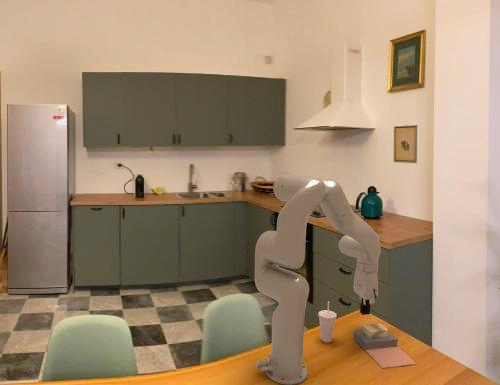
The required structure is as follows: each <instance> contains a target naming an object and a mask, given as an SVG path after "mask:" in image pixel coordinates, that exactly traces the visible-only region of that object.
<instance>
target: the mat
mask: <svg viewBox="0 0 500 385" xmlns="http://www.w3.org/2000/svg"><path fill="white" fill-rule="evenodd" d="M364 351H365V352H366V353H367V354H368V356H369V357H370V358H371V359H372V360H373V361H374V362H375V363H376V364H377V365H378V366H379V367H380V368H381V369H383V370H385V369H386V370H387V369H394V368H399V367H400V368H401V367H409V366H415V365H417V363H416V362H415V360H413V359H412V358H411V357H410V356H409V355H408V354H407V353H405V352H404V351H403V350H402V349H401V348H400V347H399V346H398V345H397V346H395V347H386V348H378V349H369V350H364Z"/></svg>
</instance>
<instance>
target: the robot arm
mask: <svg viewBox="0 0 500 385" xmlns="http://www.w3.org/2000/svg"><path fill="white" fill-rule="evenodd" d="M273 194H274V196H275V198H277V199H278V201H281V202H285V203H286V204H284V206H283V207H282V208H281V210H280V211H279V213H278V216H277V219H276V220H277V222H276V230H266V231H264V232H262V233H261V235H260V236H259V238H258V239H257V241H256V243H255V250H254V284H255V288H256V290H258V292H259V293H261V294H262V295H265V296H266V297H269V298H271V299H273V300H275V301H276V302H277V303H278V304H277V307H276V308H275V309H274V311H273V313H272V319H271V354H269V355H268V358H265V360H256V361H255V368H256V369H260V368H261V372H265V374H266V375H267V377H268V378H269V379H270V380H271V381H273V382H275V383H278V384H281V385H296V384H300V383H302V382H304V381H305V380H306V379H307V377H308V368H307V366H306V365H305V364H304V363H303V360H304V359H303V358H304V339H305V338H304V337H305V336H304V335H305V314H306V306H307V303H308V298H309V295H310V294H309V293H310V285H309V283H308V281H307V279H306V278H305V277H304V276H302V275H301V274H300V273H297V272H294V271H292V270H298V269H299V268H301V267H302V266H303V264H304V262H305V258H306V242H307V241H306V240H307V239H306V238H307V237H306V236H307V224H308V220H309V218H310V216H311V214H312V212H313V211H314V210H315V209H316V208H317V207H318V206H320V209H321V210H322V212H323V213H324V216H325V217H326V219H327V221H328V224H330V226H331V227H332V228H334V229H335V230H337V231H338V232H340V233H342V234H344V235H343V236H342V237H341V238H340V239H339V242H338V249H339V251H340V252H341V254H343V255H346V256H349V257H352V258H356V268H355V271H354V277H353V278H354V279H353V292H354V293H356V294H357V295H358V297H359V302H360V304H359V313H360V314H361V315H362V316H364V315H366V316H367V315H370V314H371V305H373V304H374V305H375V304H376V300H377V299H378V296H379V276H378V272H379V260H380V259H379V258H380V256H381V253H382V248H381V247H382V246H381V243H380V242H381V241H380V240H381V239H380V235H379V234H378V233H376V232H375V230H374V229H373V228H372V227H371V226H370V225H369V224H368V223H367V222H366V221H365V220H363V219H362V218H361V217H360V216H359V215H357V214H356V213H355V212H354V210H353V209H352V208H353V207H351V204H350V202H349V200H348V198H347V196H346V194H345V192H344V190H343V188H342V186H341V184H340V183H339V182H338V181H336V180H334V179H328V178H320V177H312V176H307V175H306V176H304V175H293V174H282V175H280V176H279V177H277V178H276V180H275V181H274V183H273Z"/></svg>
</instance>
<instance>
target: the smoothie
mask: <svg viewBox="0 0 500 385" xmlns="http://www.w3.org/2000/svg"><path fill="white" fill-rule="evenodd" d="M317 316H318V319H319V331H320V340H321V341H322V342H324V343H330V342H332V339H333V335H334V329H335V323H336V319H337V318H338V317H337V313H336V312H335V311H332V310H330V301H327V309H323V310H320V311H318V314H317Z"/></svg>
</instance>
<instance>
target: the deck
mask: <svg viewBox="0 0 500 385" xmlns="http://www.w3.org/2000/svg"><path fill="white" fill-rule="evenodd" d="M352 337H353V338H352V339H353V340H354V341H355V342H356V343H357V344H358V345H359V346H360V347H361V348H362V350H364V351H365V350H369V349H378V348H386V347H395V346H397V347H398V341H399V340H398V338H397V337H396V336H395V335H394V334H392V333H391V332H389V330H388V337H383V338H374V339H369V338H368V337H367V336H366V335H365V334H364V333H363V332H362V329H357V330H356V329H355V330H353V336H352Z"/></svg>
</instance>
